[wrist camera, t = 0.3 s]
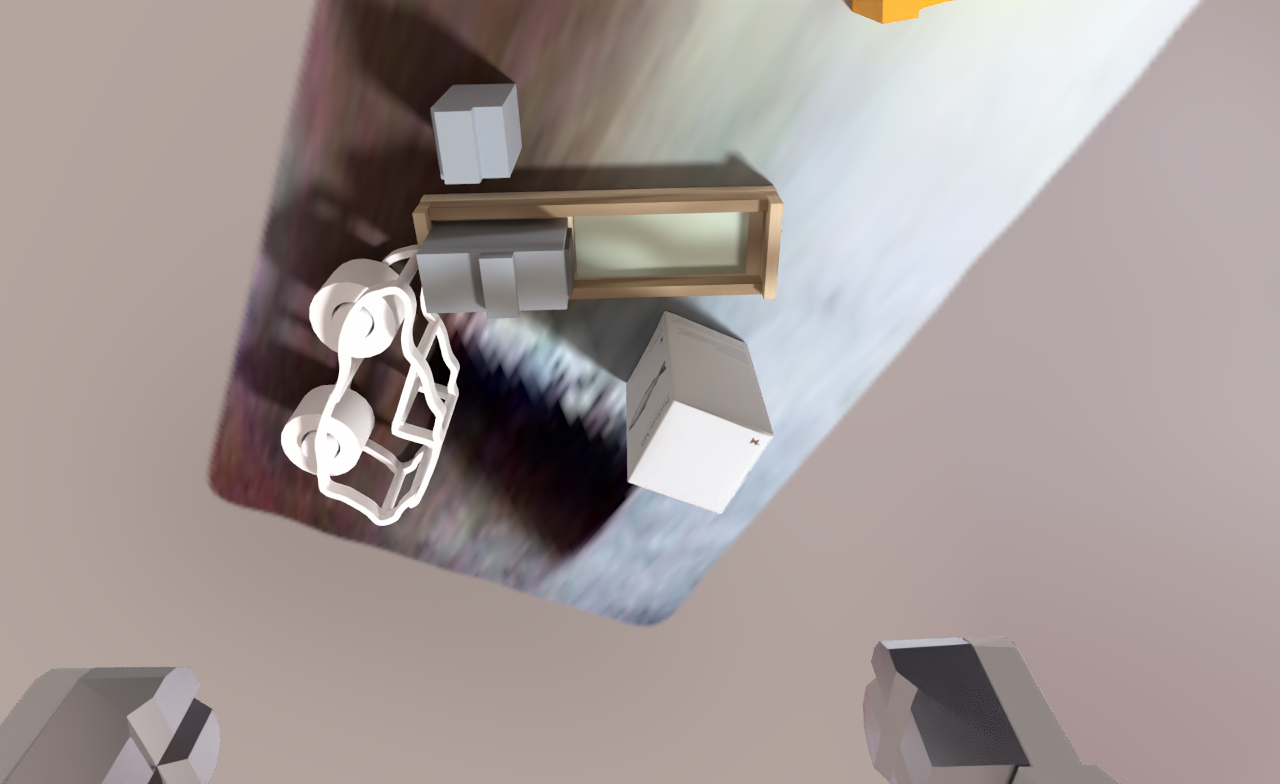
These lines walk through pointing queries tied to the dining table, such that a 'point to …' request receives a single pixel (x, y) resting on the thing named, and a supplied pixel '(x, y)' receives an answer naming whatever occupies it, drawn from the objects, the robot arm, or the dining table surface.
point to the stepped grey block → (476, 132)
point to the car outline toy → (341, 418)
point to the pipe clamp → (891, 9)
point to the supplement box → (694, 415)
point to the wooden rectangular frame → (595, 246)
